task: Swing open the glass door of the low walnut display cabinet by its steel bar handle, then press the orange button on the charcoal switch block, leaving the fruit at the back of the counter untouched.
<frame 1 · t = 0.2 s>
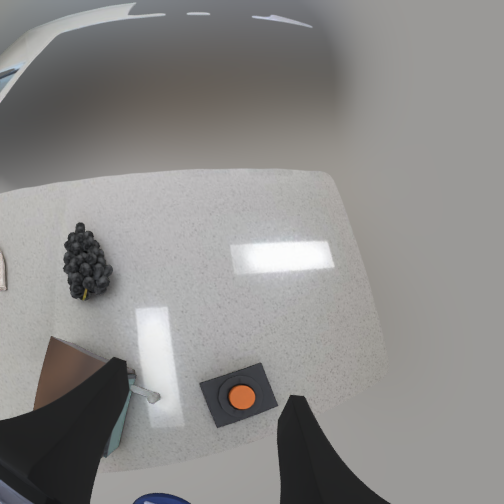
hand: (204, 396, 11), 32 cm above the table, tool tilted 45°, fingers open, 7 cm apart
cabinet: (93, 396, 34), on the table
switch block: (238, 395, 39), on the table
glass door: (134, 420, 30), point 5 cm above the table, hinge at 0.0°
fruit: (92, 265, 43), on the table
light button: (241, 397, 36), point 3 cm above the table, slide at 0.1 cm
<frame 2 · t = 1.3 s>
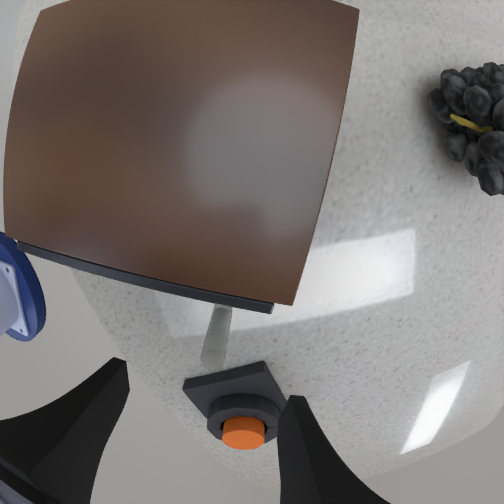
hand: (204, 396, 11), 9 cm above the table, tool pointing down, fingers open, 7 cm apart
cabinet: (186, 133, 16), on the table
switch block: (245, 404, 24), on the table
glass door: (144, 286, 14), point 5 cm above the table, hinge at 0.0°
fruit: (479, 119, 14), on the table
light button: (243, 433, 20), point 3 cm above the table, slide at 0.1 cm
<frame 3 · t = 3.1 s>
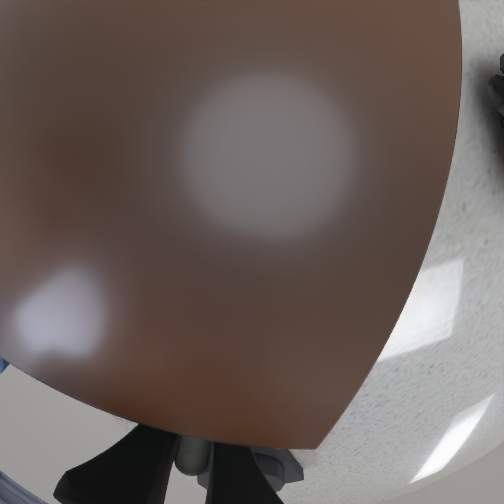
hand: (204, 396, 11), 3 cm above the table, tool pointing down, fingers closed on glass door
cabinet: (151, 125, 10), on the table
switch block: (242, 456, 18), on the table
glass door: (92, 356, 9), point 5 cm above the table, hinge at 0.0°, touching gripper
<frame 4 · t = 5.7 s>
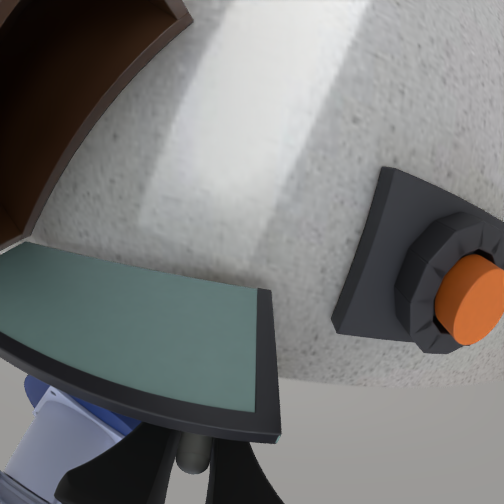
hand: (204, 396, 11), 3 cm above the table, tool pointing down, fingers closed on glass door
cabinet: (39, 79, 9), on the table
switch block: (436, 268, 12), on the table
glass door: (93, 356, 9), point 5 cm above the table, hinge at 53.1°, touching gripper
light button: (473, 300, 9), point 3 cm above the table, slide at 0.1 cm
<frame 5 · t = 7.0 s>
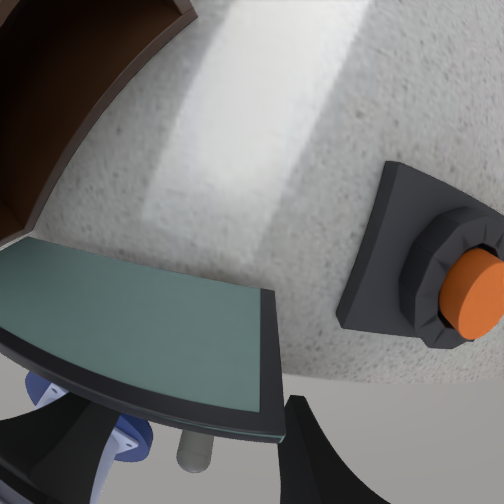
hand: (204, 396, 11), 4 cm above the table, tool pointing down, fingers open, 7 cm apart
cabinet: (42, 74, 9), on the table
switch block: (440, 263, 12), on the table
glass door: (94, 353, 9), point 5 cm above the table, hinge at 54.4°
light button: (478, 294, 9), point 3 cm above the table, slide at 0.1 cm
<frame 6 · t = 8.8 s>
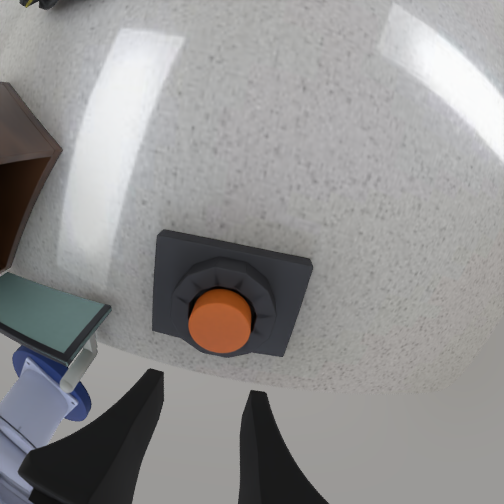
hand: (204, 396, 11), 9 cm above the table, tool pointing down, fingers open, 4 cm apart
cabinet: (1, 178, 17), on the table
switch block: (226, 294, 19), on the table
glass door: (34, 332, 16), point 5 cm above the table, hinge at 54.4°
light button: (220, 321, 16), point 3 cm above the table, slide at 0.1 cm
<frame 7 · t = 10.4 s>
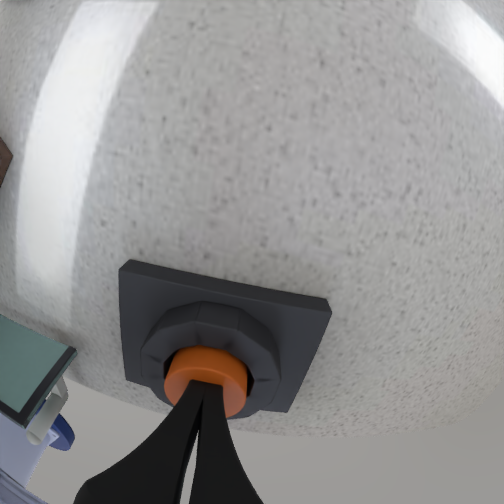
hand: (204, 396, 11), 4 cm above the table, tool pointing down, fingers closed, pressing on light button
switch block: (215, 341, 14), on the table
light button: (206, 383, 11), point 3 cm above the table, slide at -0.2 cm, touching gripper
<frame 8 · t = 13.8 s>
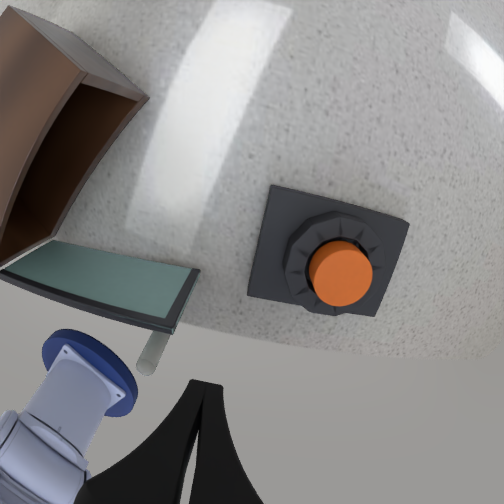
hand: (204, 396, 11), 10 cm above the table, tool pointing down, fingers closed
cabinet: (55, 131, 16), on the table
switch block: (327, 253, 19), on the table
glass door: (96, 305, 16), point 5 cm above the table, hinge at 54.4°
light button: (340, 273, 16), point 3 cm above the table, slide at 0.1 cm
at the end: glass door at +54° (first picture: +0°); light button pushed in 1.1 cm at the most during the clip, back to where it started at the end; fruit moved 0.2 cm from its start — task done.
